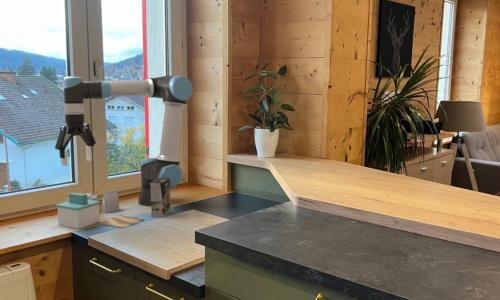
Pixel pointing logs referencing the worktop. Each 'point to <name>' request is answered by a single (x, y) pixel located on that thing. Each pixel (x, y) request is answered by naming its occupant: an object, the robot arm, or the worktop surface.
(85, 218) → the storage box
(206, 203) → the worktop surface
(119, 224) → the cork mat
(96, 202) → the lid
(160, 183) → the coffee box
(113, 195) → the grey rectangular block
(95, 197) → the lumpy-topped squat cylinder
